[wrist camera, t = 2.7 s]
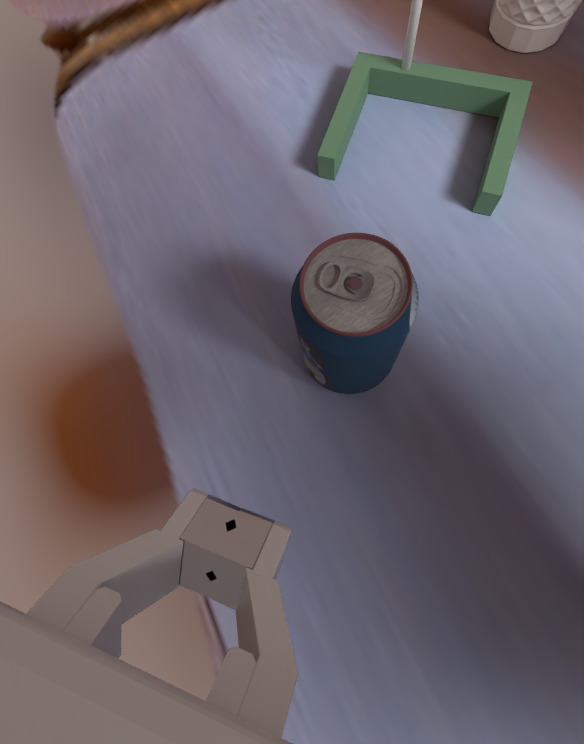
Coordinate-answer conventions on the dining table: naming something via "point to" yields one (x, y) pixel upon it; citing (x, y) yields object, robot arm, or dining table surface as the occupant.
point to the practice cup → (438, 90)
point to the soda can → (353, 310)
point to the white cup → (530, 23)
